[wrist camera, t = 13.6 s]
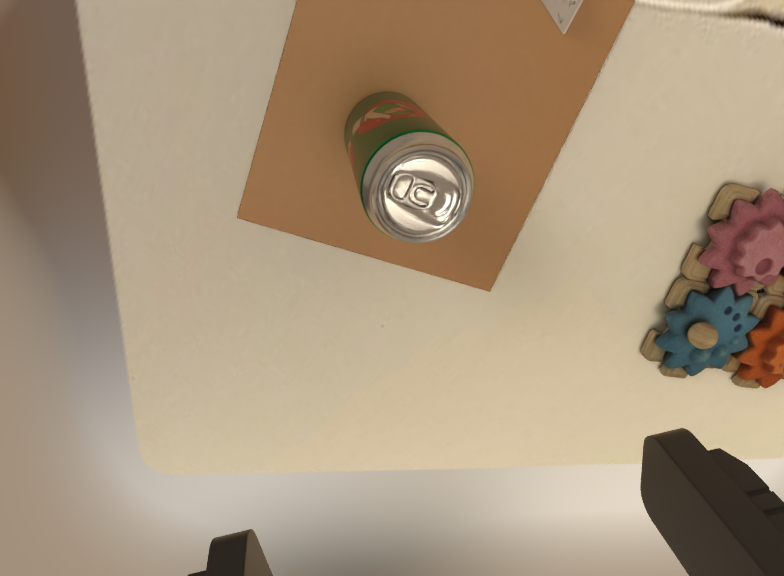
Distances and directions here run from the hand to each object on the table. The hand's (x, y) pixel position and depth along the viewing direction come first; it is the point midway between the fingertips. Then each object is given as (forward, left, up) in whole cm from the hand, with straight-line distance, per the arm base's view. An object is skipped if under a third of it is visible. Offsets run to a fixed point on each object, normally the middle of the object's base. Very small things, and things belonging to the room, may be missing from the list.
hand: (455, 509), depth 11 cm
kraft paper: (+3, +5, -27) cm, 28 cm away
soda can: (+1, +2, -27) cm, 27 cm away
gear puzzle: (+41, +1, -27) cm, 49 cm away
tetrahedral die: (+8, +12, -27) cm, 31 cm away
